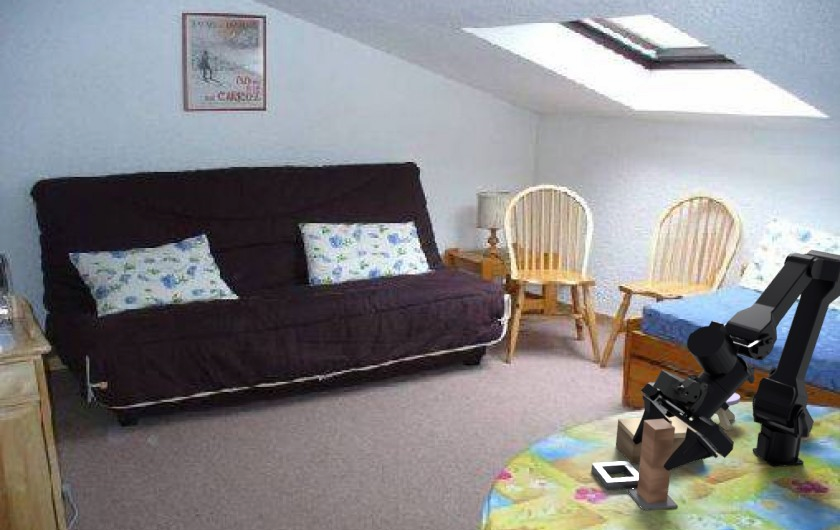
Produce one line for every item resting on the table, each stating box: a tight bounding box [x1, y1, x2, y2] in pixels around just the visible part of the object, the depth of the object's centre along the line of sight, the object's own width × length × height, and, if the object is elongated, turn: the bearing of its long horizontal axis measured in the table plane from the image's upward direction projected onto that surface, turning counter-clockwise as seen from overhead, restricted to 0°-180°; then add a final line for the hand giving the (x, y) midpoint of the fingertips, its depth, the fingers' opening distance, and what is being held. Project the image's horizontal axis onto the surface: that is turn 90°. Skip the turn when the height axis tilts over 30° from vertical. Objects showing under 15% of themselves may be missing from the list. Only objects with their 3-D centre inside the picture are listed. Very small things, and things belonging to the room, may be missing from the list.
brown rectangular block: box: [637, 419, 675, 503], centre depth 128 cm, size 4×4×13 cm
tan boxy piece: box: [615, 424, 685, 465], centre depth 145 cm, size 14×7×4 cm, turn 100°
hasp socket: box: [591, 460, 639, 491], centre depth 135 cm, size 7×7×2 cm
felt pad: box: [626, 488, 679, 511], centre depth 129 cm, size 6×6×1 cm
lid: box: [617, 415, 697, 439], centre depth 144 cm, size 13×7×3 cm, turn 100°
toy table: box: [714, 392, 741, 431], centre depth 159 cm, size 10×9×6 cm
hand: (649, 455), depth 127 cm, fingers open, 9 cm apart
